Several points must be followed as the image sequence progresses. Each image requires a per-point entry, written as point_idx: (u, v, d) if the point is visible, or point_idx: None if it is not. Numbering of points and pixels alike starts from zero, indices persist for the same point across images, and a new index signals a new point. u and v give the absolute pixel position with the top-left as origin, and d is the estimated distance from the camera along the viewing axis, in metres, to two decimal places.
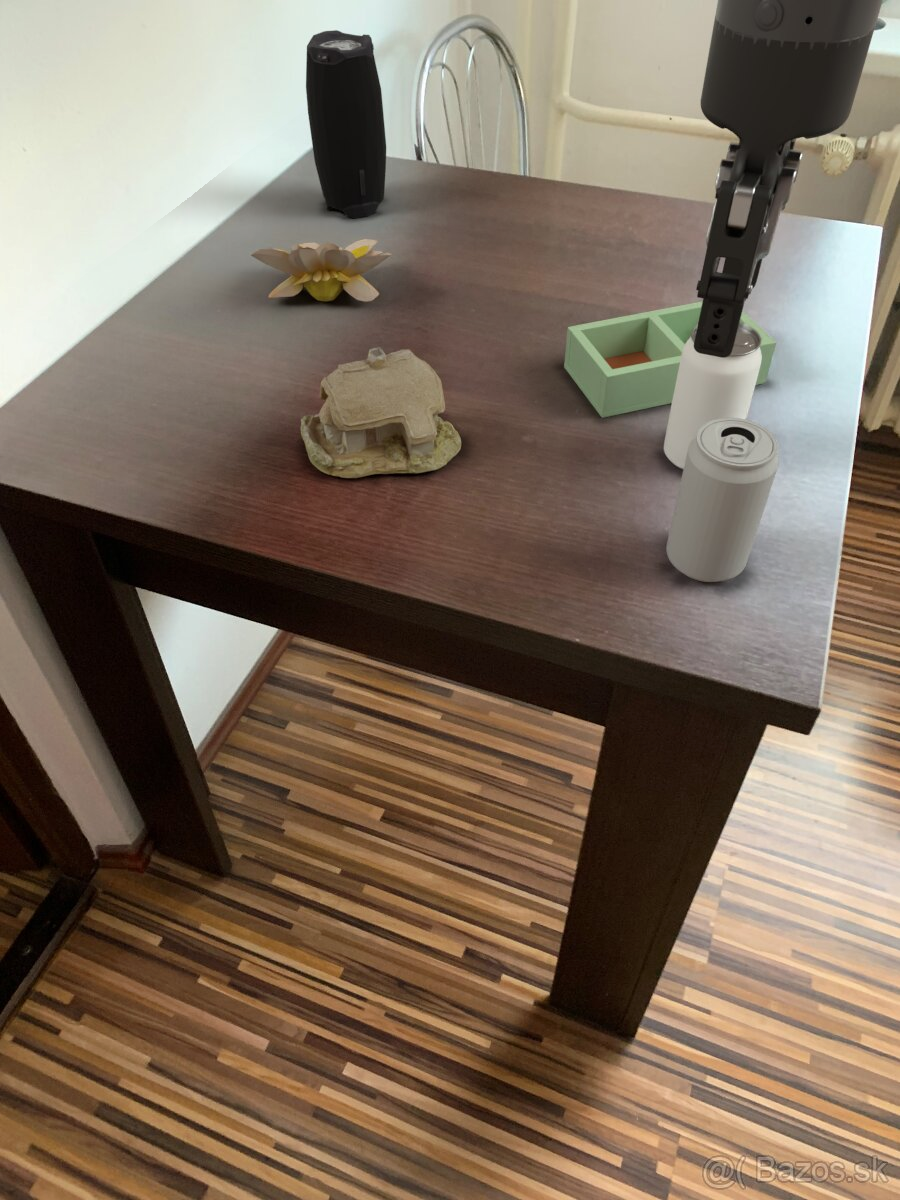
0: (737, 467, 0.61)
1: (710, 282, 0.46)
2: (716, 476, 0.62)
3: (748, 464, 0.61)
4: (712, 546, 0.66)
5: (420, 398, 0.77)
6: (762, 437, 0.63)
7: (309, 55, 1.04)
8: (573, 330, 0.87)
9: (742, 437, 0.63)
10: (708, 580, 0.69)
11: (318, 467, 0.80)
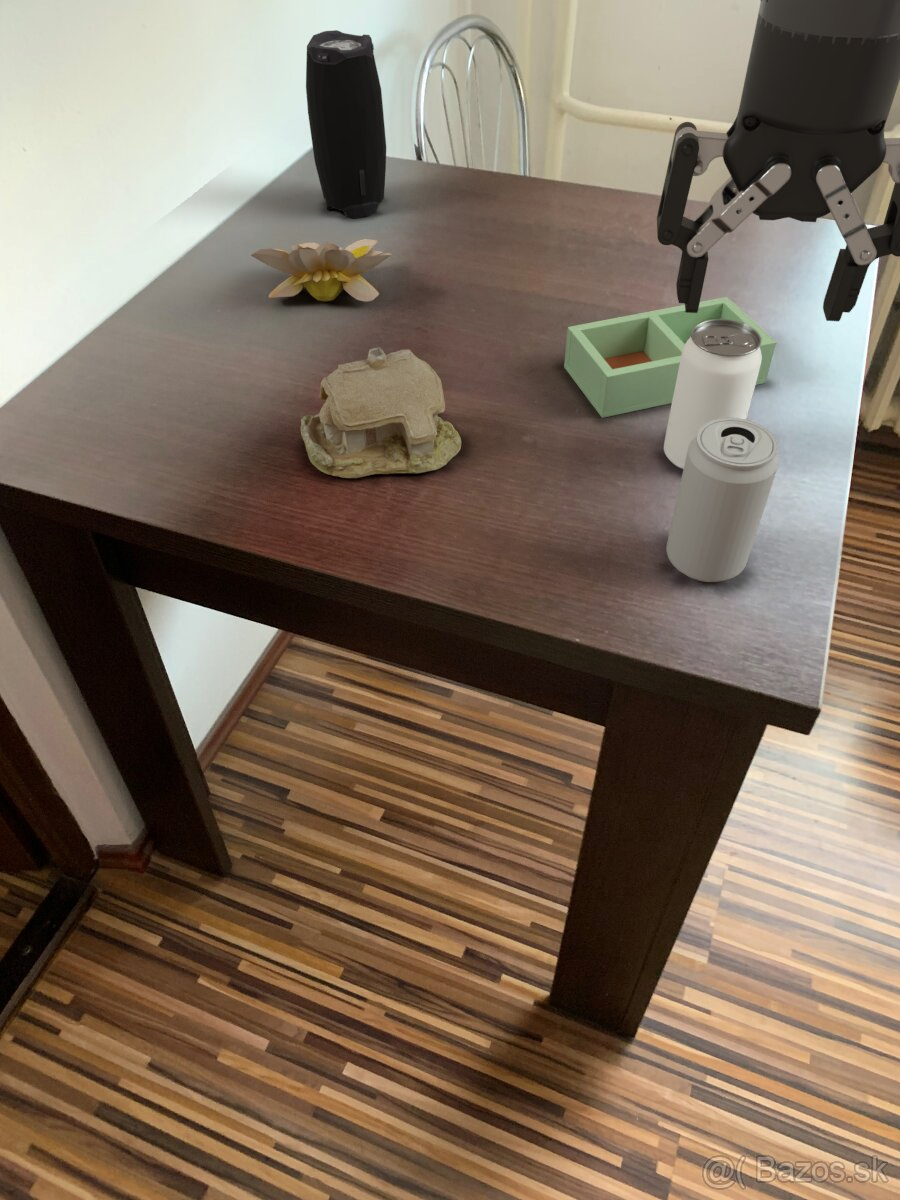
0: (737, 467, 0.61)
1: (662, 213, 0.52)
2: (716, 476, 0.62)
3: (748, 464, 0.61)
4: (712, 546, 0.66)
5: (420, 398, 0.77)
6: (762, 437, 0.63)
7: (309, 55, 1.04)
8: (573, 330, 0.87)
9: (742, 437, 0.63)
10: (708, 580, 0.69)
11: (318, 467, 0.80)
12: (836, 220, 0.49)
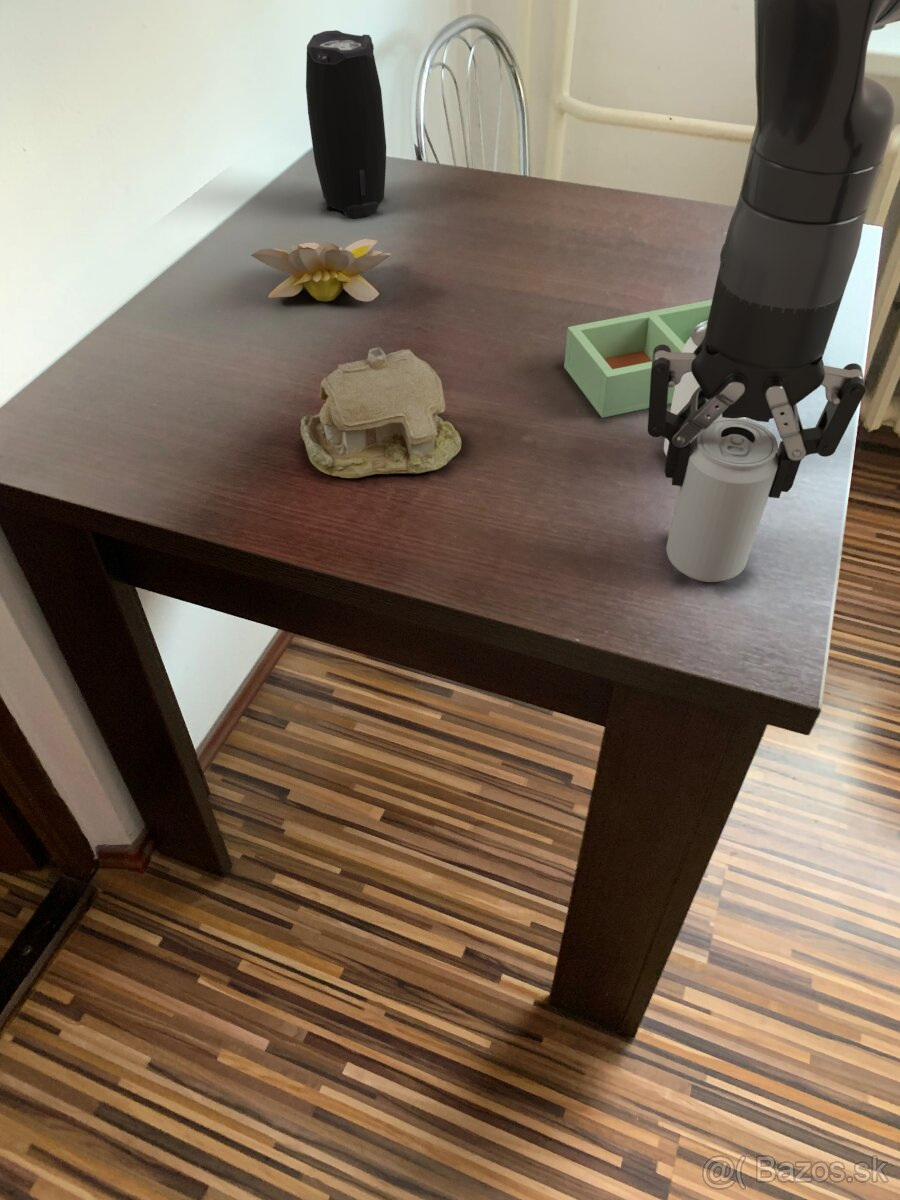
0: (737, 467, 0.61)
1: None
2: (716, 475, 0.62)
3: (748, 464, 0.61)
4: (712, 546, 0.66)
5: (420, 399, 0.77)
6: (762, 437, 0.63)
7: (309, 55, 1.04)
8: (573, 330, 0.87)
9: (743, 437, 0.63)
10: (708, 580, 0.69)
11: (318, 467, 0.80)
12: (777, 425, 0.60)
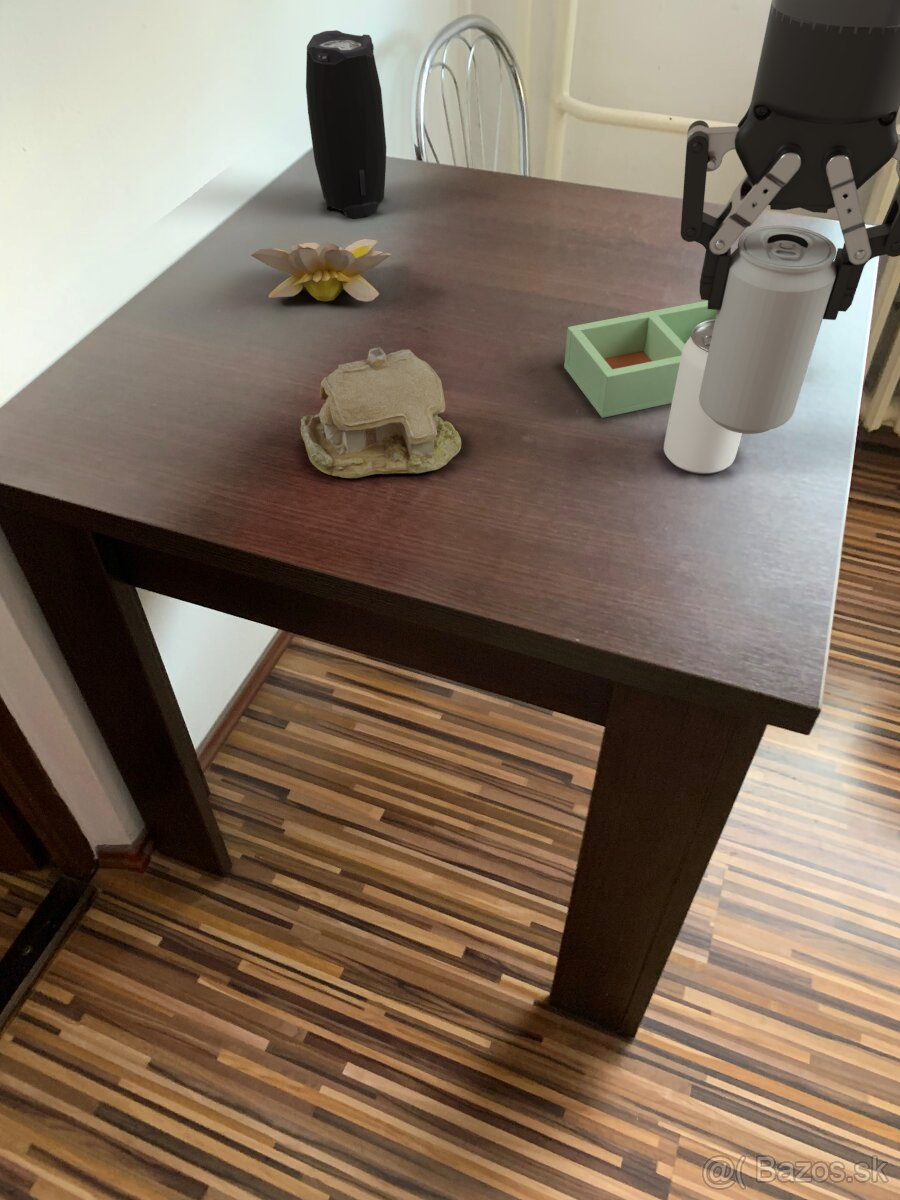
0: (789, 270, 0.51)
1: None
2: (763, 284, 0.52)
3: (802, 267, 0.51)
4: (755, 381, 0.56)
5: (420, 398, 0.77)
6: (817, 242, 0.53)
7: (309, 55, 1.04)
8: (573, 330, 0.87)
9: (793, 243, 0.53)
10: (749, 429, 0.59)
11: (318, 467, 0.79)
12: (838, 213, 0.49)
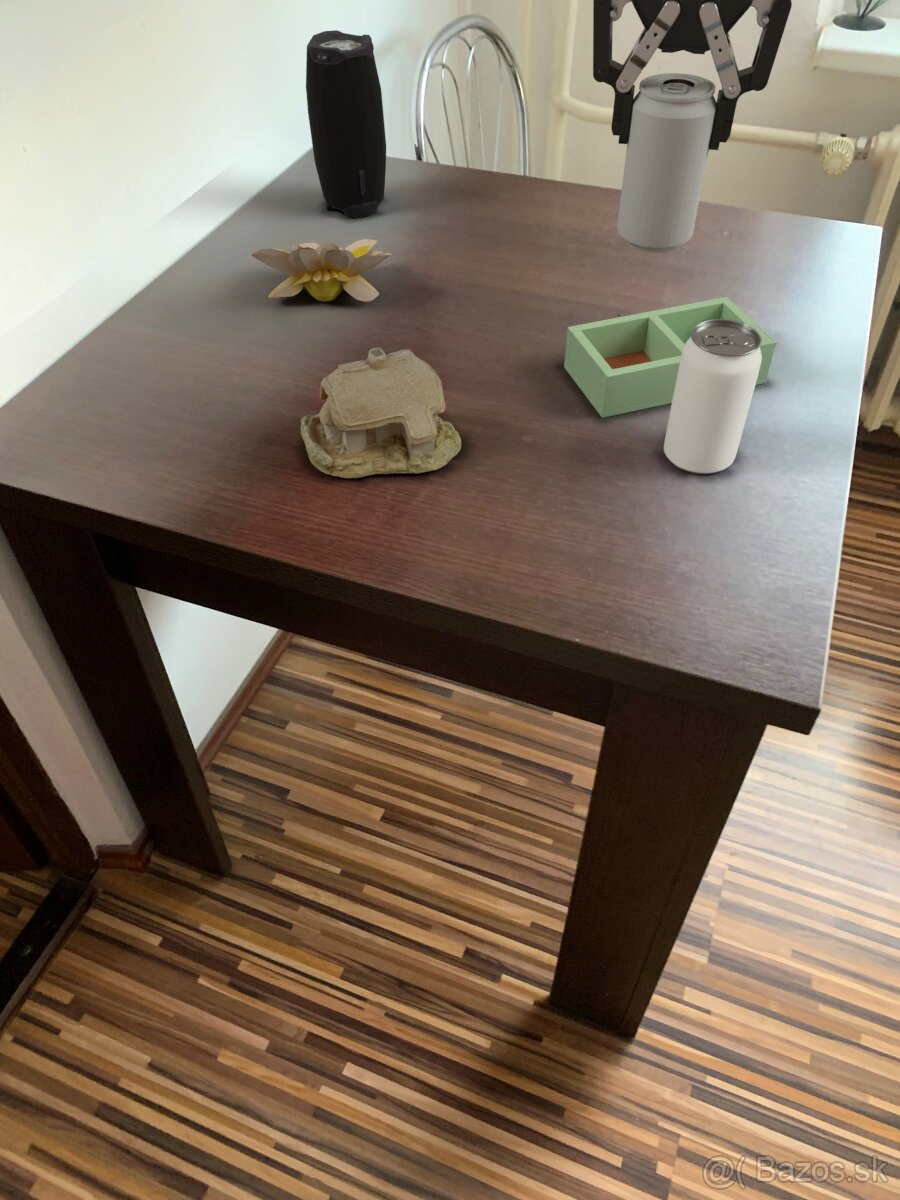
0: (676, 100, 0.65)
1: None
2: (657, 113, 0.66)
3: (686, 98, 0.65)
4: (656, 201, 0.70)
5: (420, 398, 0.77)
6: (701, 83, 0.67)
7: (309, 55, 1.04)
8: (573, 330, 0.87)
9: (683, 84, 0.67)
10: (655, 246, 0.73)
11: (318, 467, 0.79)
12: (712, 53, 0.63)
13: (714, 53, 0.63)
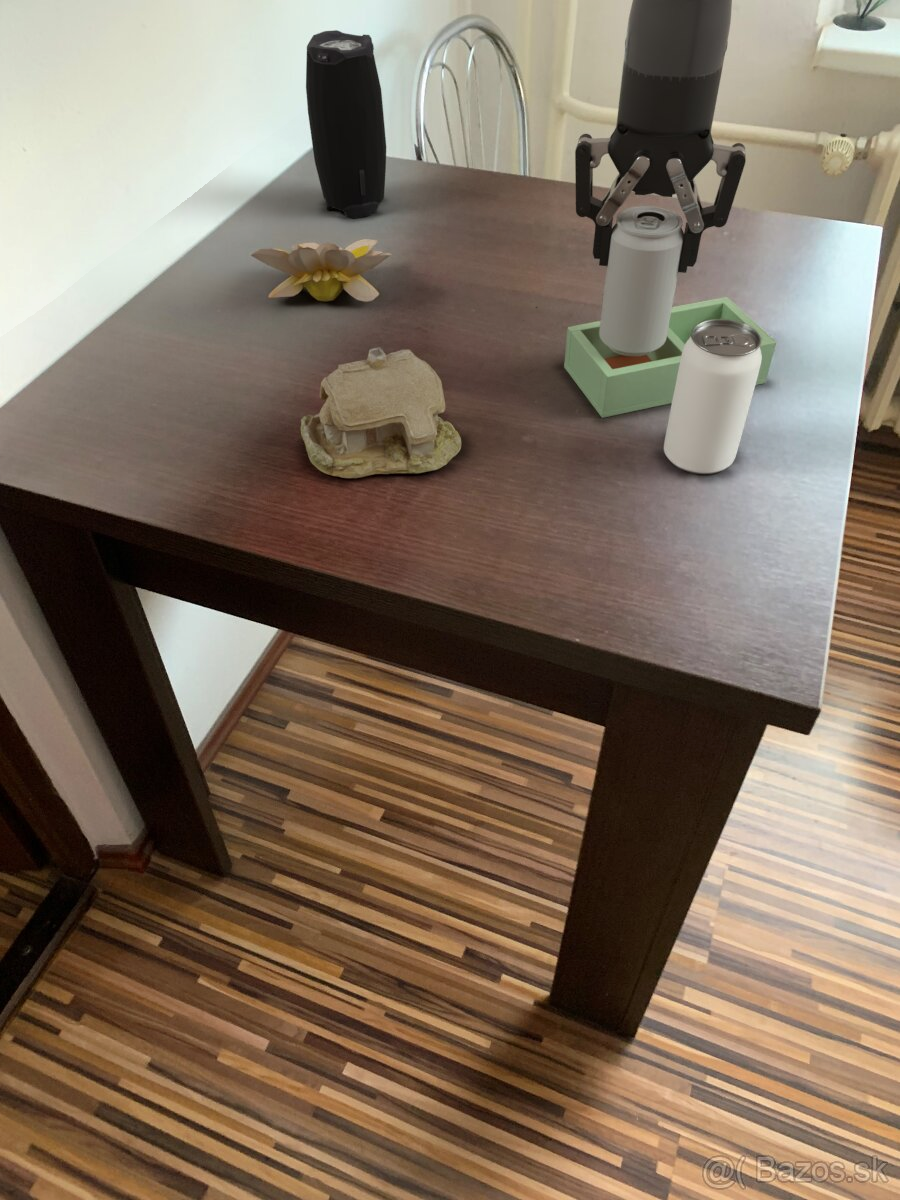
0: (647, 235, 0.75)
1: None
2: (631, 245, 0.76)
3: (656, 233, 0.75)
4: (632, 316, 0.80)
5: (420, 398, 0.77)
6: (670, 217, 0.77)
7: (309, 55, 1.04)
8: (573, 330, 0.87)
9: (655, 218, 0.77)
10: (632, 352, 0.82)
11: (318, 467, 0.79)
12: (678, 197, 0.73)
13: (680, 197, 0.73)
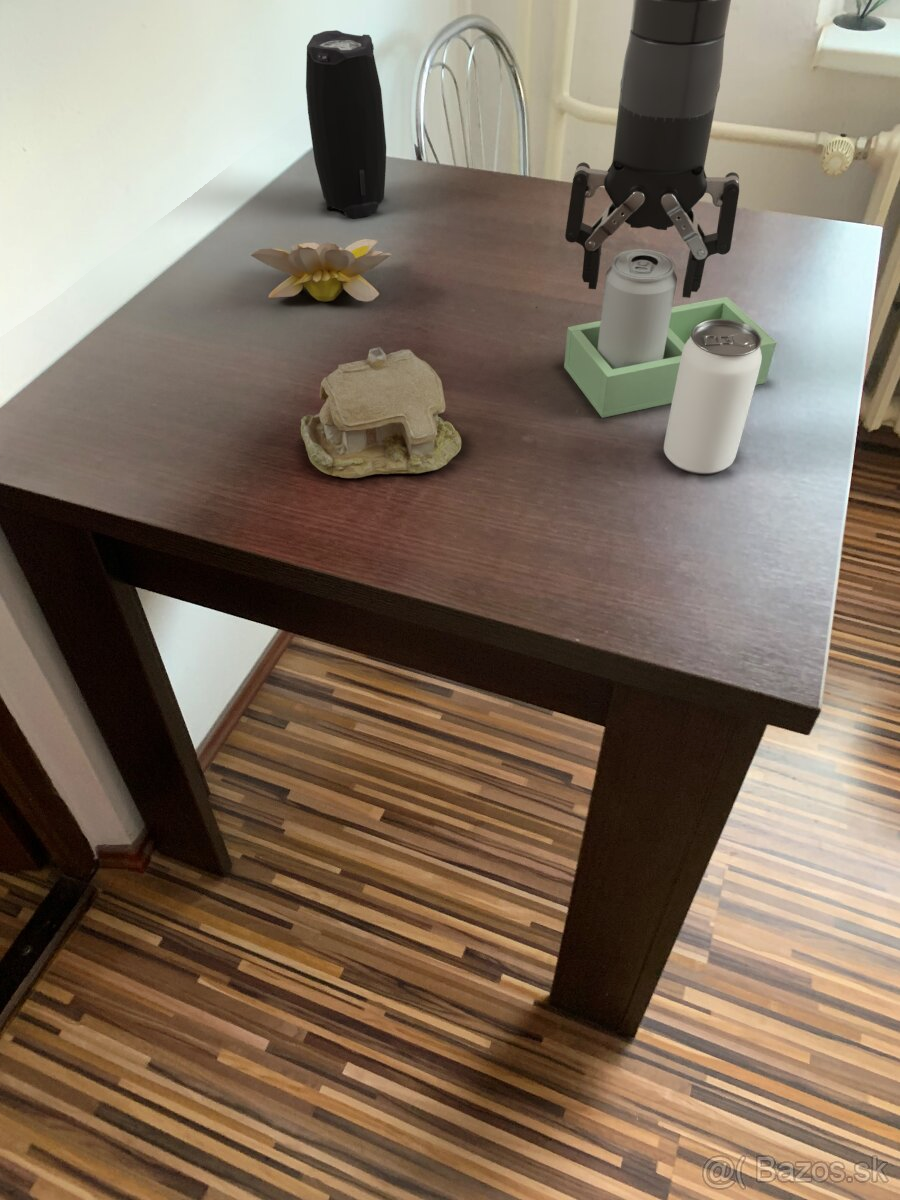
0: (641, 280, 0.78)
1: None
2: (626, 289, 0.78)
3: (650, 278, 0.78)
4: (627, 355, 0.83)
5: (421, 398, 0.77)
6: (663, 261, 0.80)
7: (309, 55, 1.04)
8: (573, 330, 0.87)
9: (648, 261, 0.80)
10: None
11: (318, 467, 0.79)
12: (677, 229, 0.75)
13: (679, 229, 0.75)
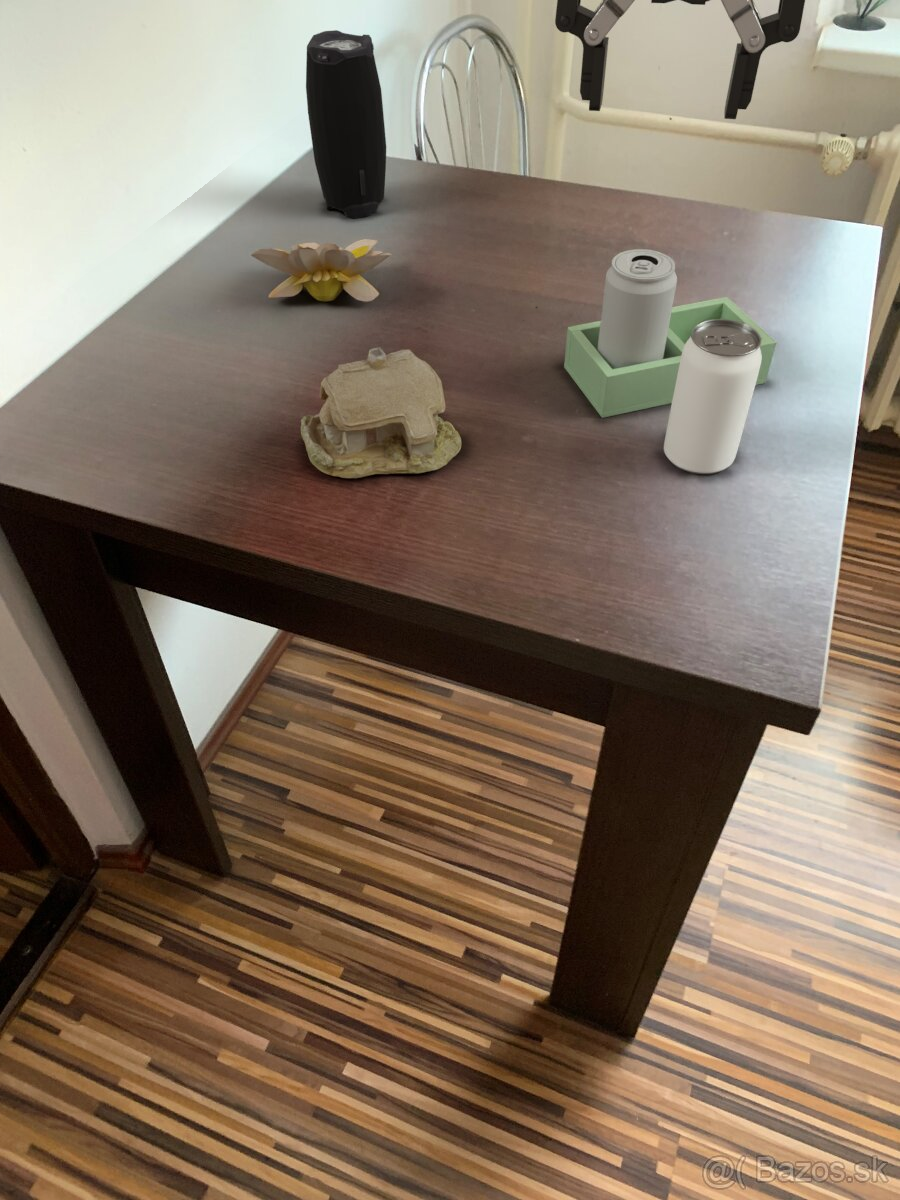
0: (641, 280, 0.78)
1: None
2: (626, 289, 0.78)
3: (650, 278, 0.78)
4: (627, 355, 0.83)
5: (421, 398, 0.77)
6: (664, 261, 0.80)
7: (309, 55, 1.04)
8: (573, 330, 0.87)
9: (648, 261, 0.80)
10: None
11: (318, 467, 0.79)
12: None
13: None
